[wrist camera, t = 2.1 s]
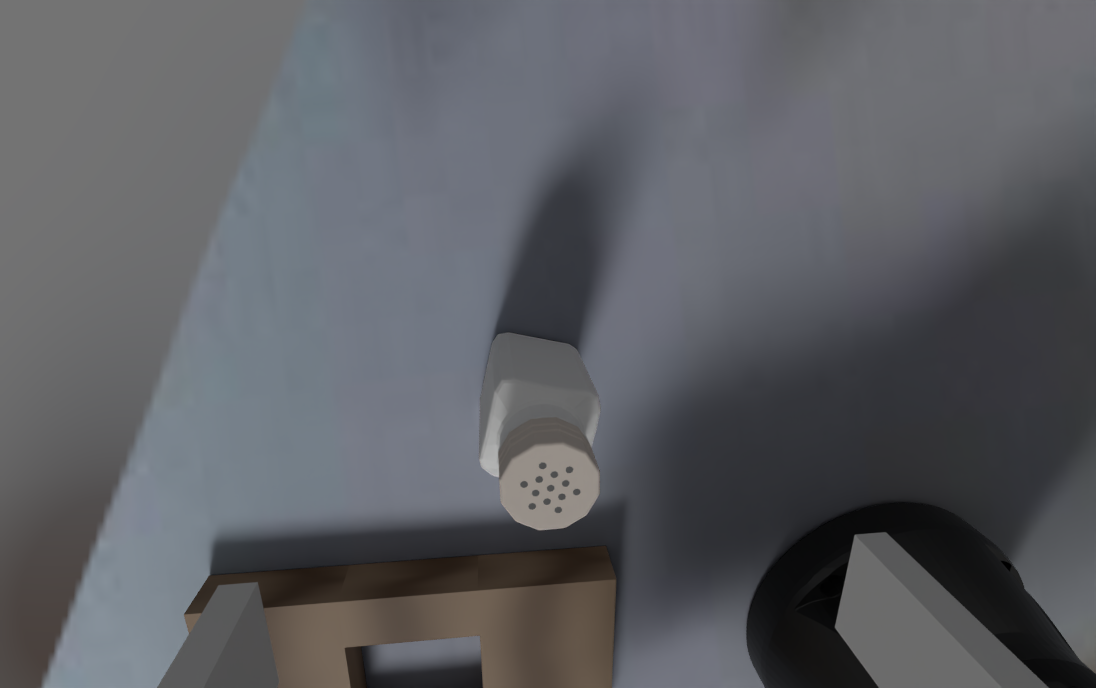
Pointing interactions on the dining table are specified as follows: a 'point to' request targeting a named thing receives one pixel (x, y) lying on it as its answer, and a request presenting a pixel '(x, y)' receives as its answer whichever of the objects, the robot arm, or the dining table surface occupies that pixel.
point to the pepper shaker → (539, 430)
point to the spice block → (442, 615)
